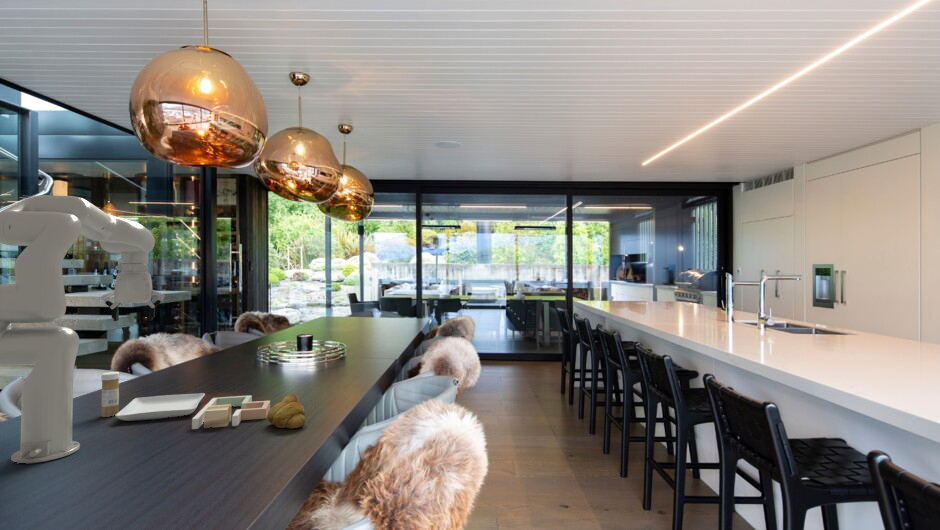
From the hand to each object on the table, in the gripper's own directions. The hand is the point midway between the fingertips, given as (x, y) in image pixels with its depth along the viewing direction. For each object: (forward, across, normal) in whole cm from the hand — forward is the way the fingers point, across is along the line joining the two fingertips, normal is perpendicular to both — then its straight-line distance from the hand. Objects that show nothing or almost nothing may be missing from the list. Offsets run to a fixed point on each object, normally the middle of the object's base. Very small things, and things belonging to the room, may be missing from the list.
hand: (133, 320), depth 158 cm
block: (+30, +27, -31) cm, 51 cm away
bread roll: (+30, +46, -40) cm, 68 cm away
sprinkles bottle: (+30, -4, -7) cm, 31 cm away
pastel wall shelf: (+29, +32, -22) cm, 49 cm away
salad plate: (+30, +10, -9) cm, 33 cm away
